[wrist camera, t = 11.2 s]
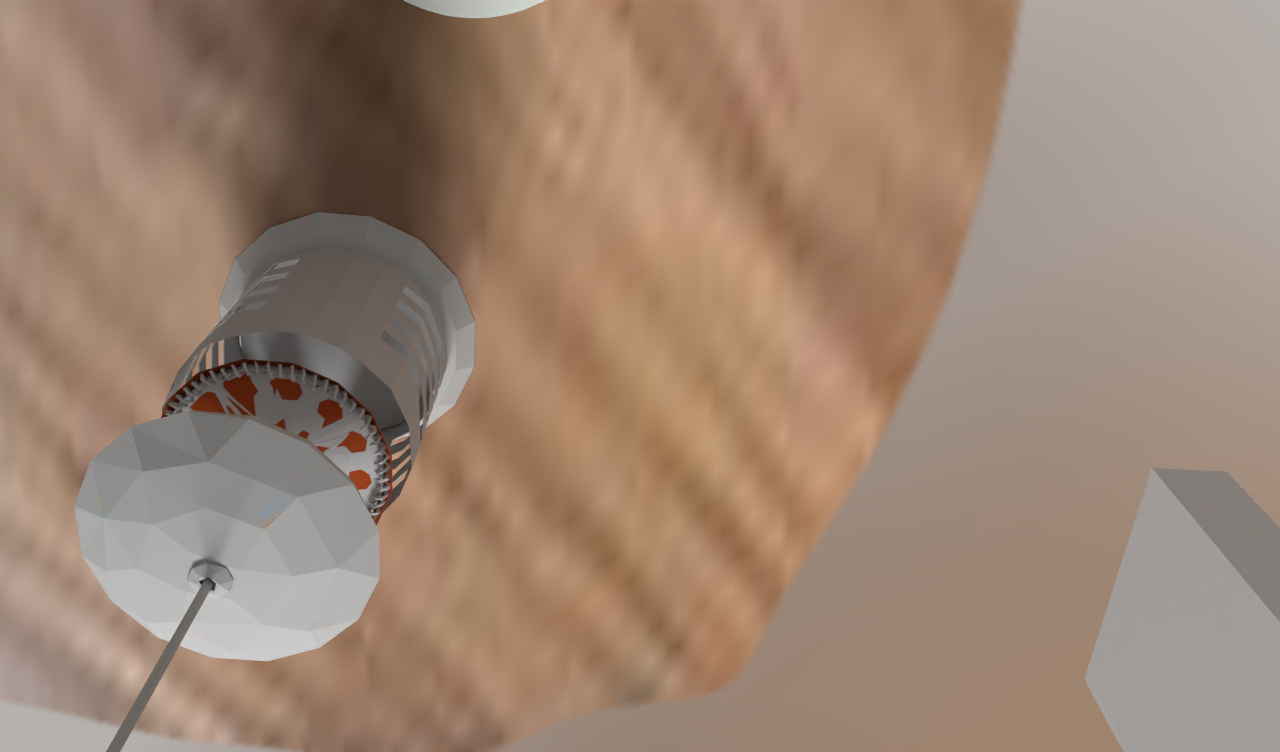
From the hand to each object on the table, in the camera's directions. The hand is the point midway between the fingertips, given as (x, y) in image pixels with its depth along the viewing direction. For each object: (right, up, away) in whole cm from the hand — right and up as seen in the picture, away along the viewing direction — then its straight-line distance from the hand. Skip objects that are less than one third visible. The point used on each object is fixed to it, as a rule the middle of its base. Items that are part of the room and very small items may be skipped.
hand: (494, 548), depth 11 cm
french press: (-10, +3, +31) cm, 33 cm away
